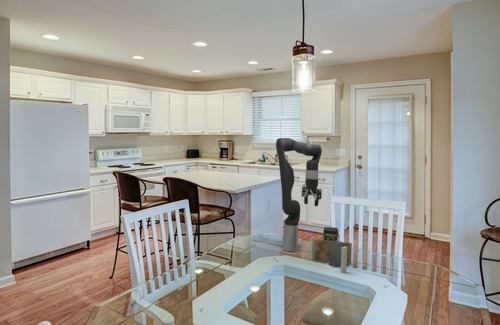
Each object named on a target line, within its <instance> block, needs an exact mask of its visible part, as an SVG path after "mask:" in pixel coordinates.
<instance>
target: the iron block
mask: <svg viewBox="0 0 500 325" xmlns="http://www.w3.org/2000/svg"><path fill="white" fill-rule="evenodd" d="M343 242H344V241H340V240H338V239H337V240H334V241H330V260H329V261H328V262H329V264H328V265H329V266H331V267H333V268H339V267H340V268H341V251H342V247H343Z"/></svg>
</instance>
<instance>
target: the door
mask: <svg viewBox="0 0 500 325" xmlns="http://www.w3.org/2000/svg"><path fill="white" fill-rule="evenodd" d="M342 242H343V247H347V265H351V264H352V242H346V241H345V242H344V241H342ZM329 260H330V241H325V240H324V239H323V240H322V239H316V240H315V260H314V261H321V262H322V261H323V262H329Z"/></svg>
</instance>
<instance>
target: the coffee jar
mask: <svg viewBox="0 0 500 325" xmlns="http://www.w3.org/2000/svg"><path fill="white" fill-rule="evenodd" d="M322 232H323V233H322V234H323V240H325V241H334V240H337V241H338V237H339V229H338V227H332V226H324V228H323V231H322Z"/></svg>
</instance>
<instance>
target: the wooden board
mask: <svg viewBox="0 0 500 325" xmlns="http://www.w3.org/2000/svg"><path fill="white" fill-rule="evenodd" d="M315 240H317V238H316V236H312V237H310V249H309V251H310V253H309V260H310V261H311V262H313V261H316V260H315ZM347 265H348V264H347V247H342V251H341V266H340V273H341V274H345V273H347V270H348V268H347Z"/></svg>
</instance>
